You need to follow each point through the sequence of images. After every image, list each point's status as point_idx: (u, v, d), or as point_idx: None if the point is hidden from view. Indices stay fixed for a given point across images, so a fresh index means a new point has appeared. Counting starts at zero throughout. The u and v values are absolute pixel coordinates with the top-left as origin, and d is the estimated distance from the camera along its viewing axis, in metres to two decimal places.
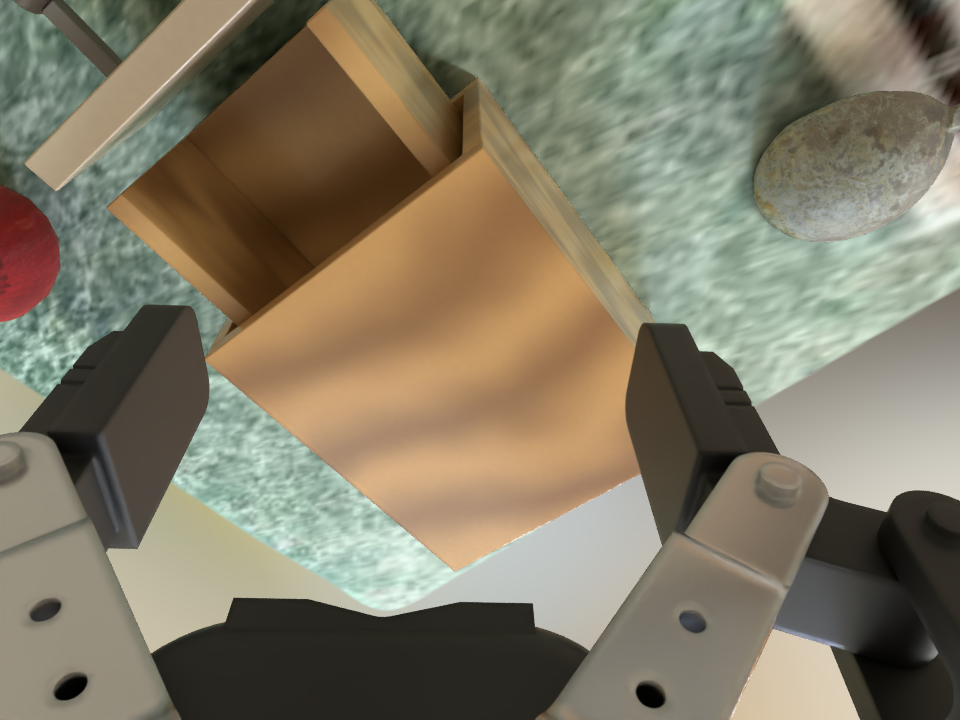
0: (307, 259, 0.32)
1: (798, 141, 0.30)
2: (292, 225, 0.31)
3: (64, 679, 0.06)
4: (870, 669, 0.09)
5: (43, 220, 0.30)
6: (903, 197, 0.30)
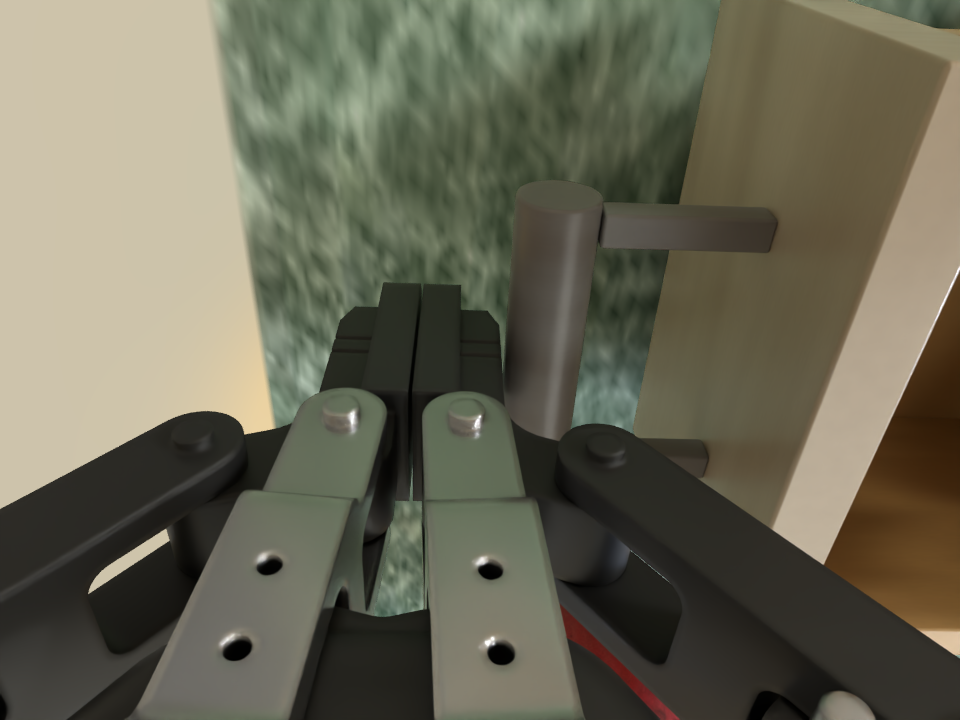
0: None
1: None
2: (953, 398, 0.18)
3: (240, 637, 0.06)
4: (594, 599, 0.10)
5: None
6: None
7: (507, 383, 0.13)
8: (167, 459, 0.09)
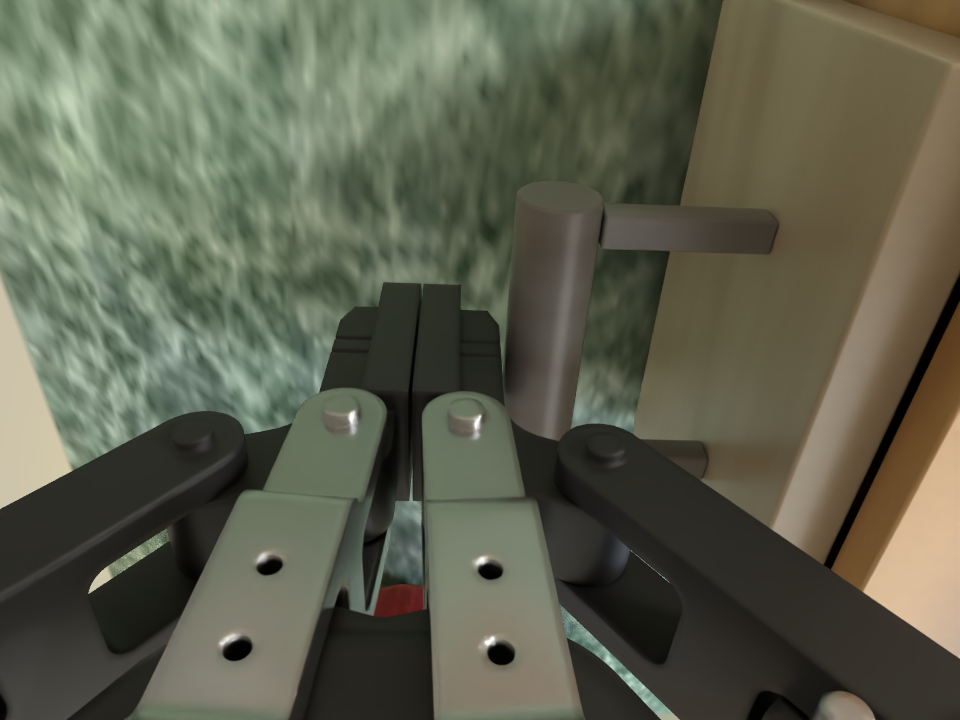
0: None
1: None
2: None
3: (240, 637, 0.06)
4: (594, 600, 0.10)
5: None
6: None
7: (507, 383, 0.13)
8: (167, 459, 0.09)
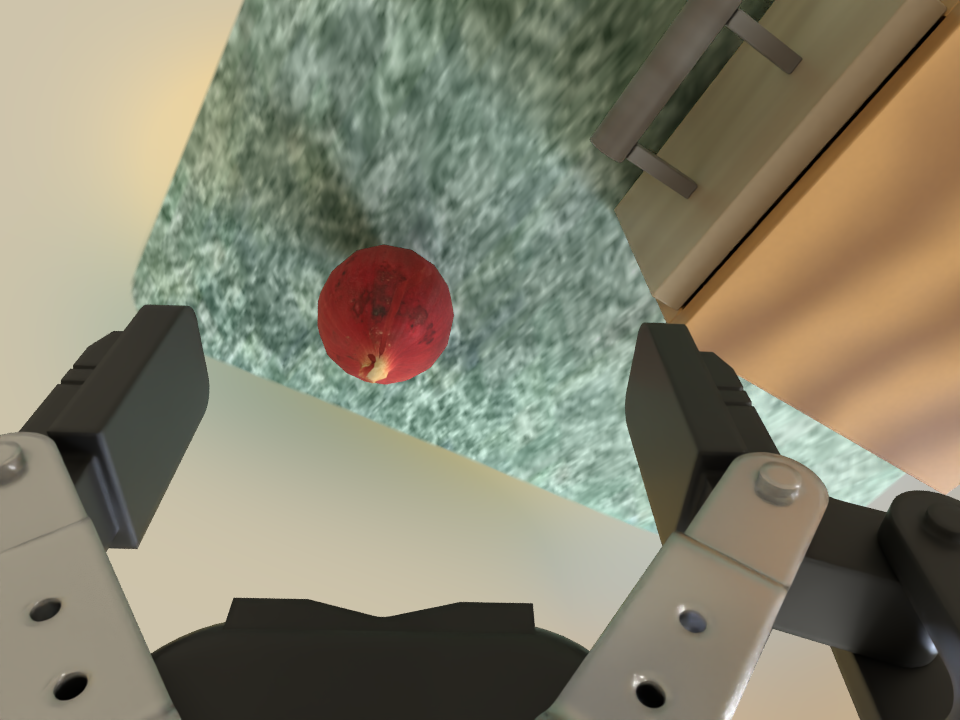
0: None
1: None
2: None
3: (63, 679, 0.06)
4: (870, 669, 0.09)
5: (432, 264, 0.30)
6: None
7: (638, 79, 0.23)
8: None
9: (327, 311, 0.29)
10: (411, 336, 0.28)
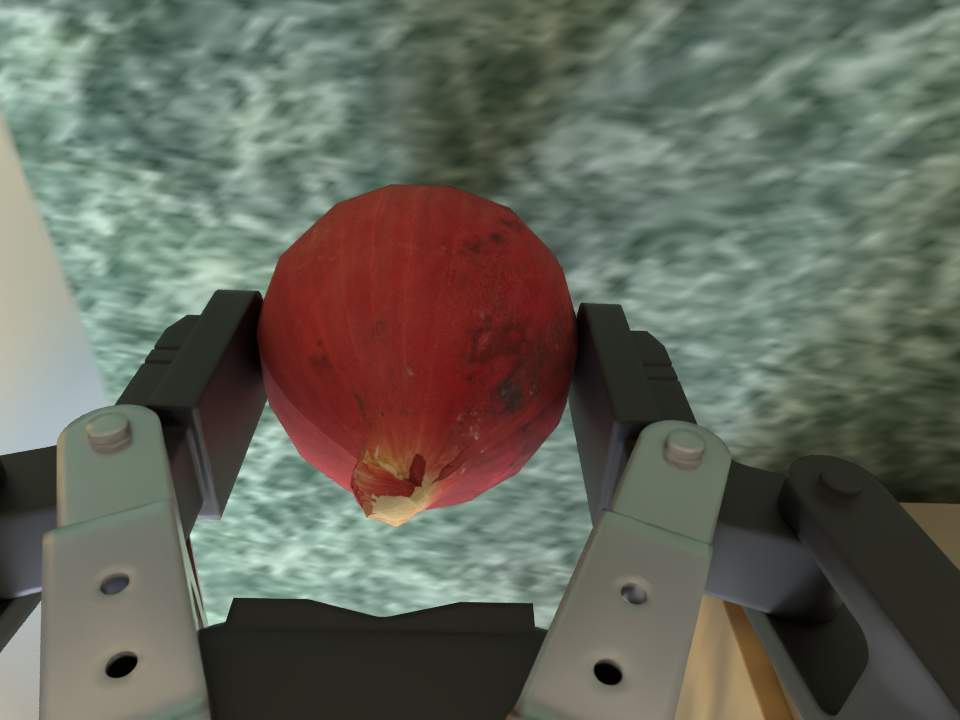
0: None
1: None
2: None
3: (117, 656, 0.06)
4: (785, 631, 0.09)
5: None
6: None
7: None
8: None
9: (406, 268, 0.11)
10: (489, 479, 0.11)
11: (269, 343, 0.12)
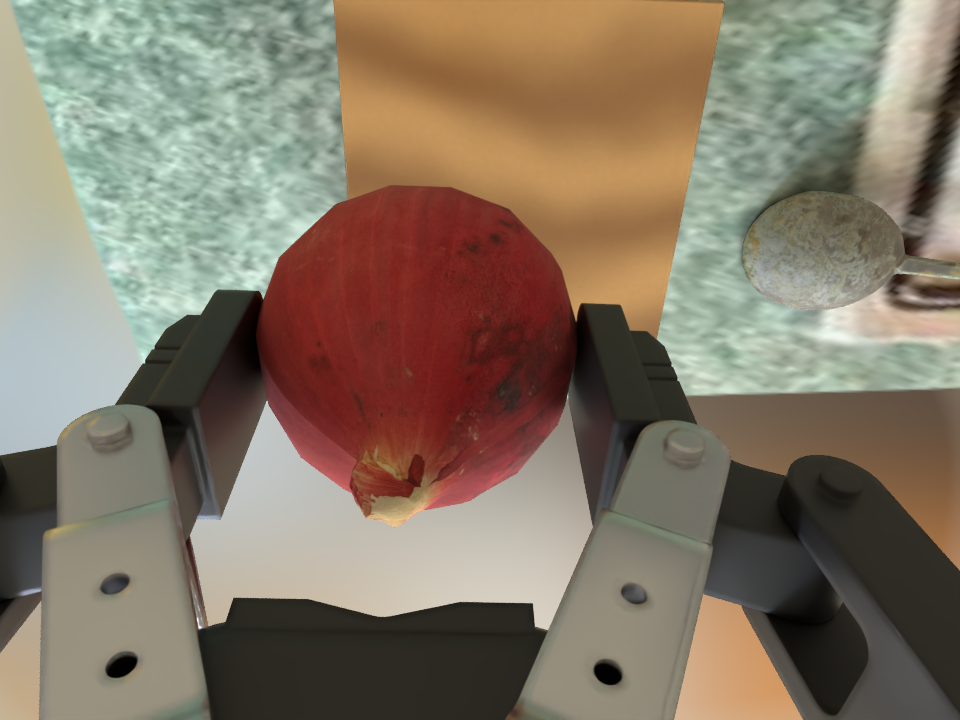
0: None
1: (813, 206, 0.36)
2: None
3: (118, 656, 0.06)
4: (785, 631, 0.09)
5: None
6: (841, 295, 0.37)
7: None
8: None
9: (405, 269, 0.11)
10: (488, 480, 0.12)
11: (268, 344, 0.12)
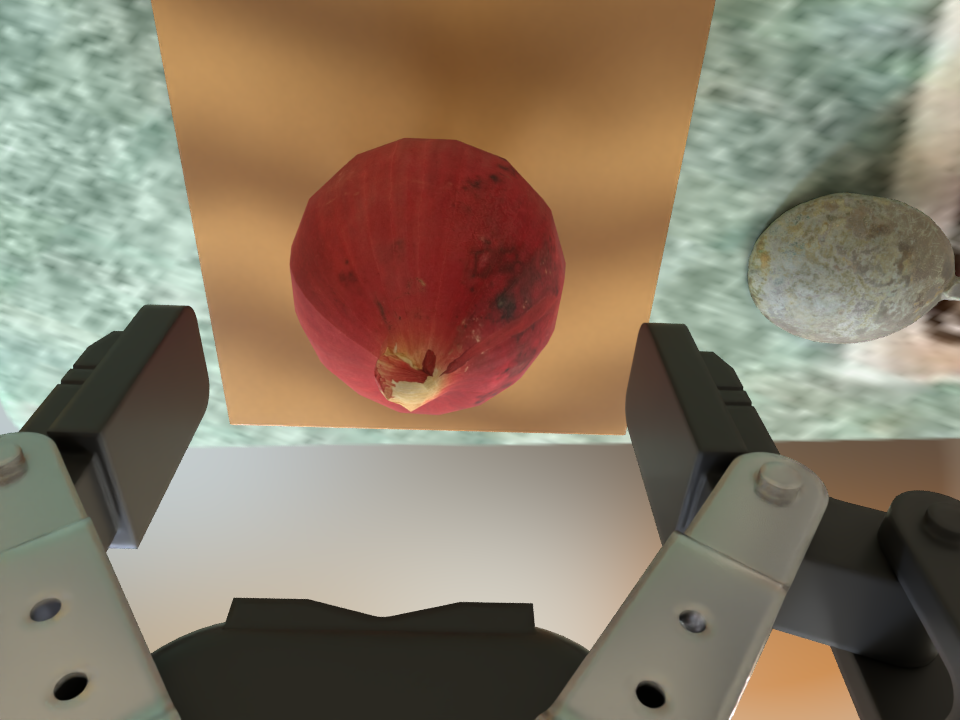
0: None
1: (840, 213, 0.28)
2: None
3: (64, 679, 0.06)
4: (870, 669, 0.09)
5: None
6: (874, 327, 0.29)
7: None
8: None
9: (419, 199, 0.13)
10: (488, 383, 0.14)
11: (302, 268, 0.14)
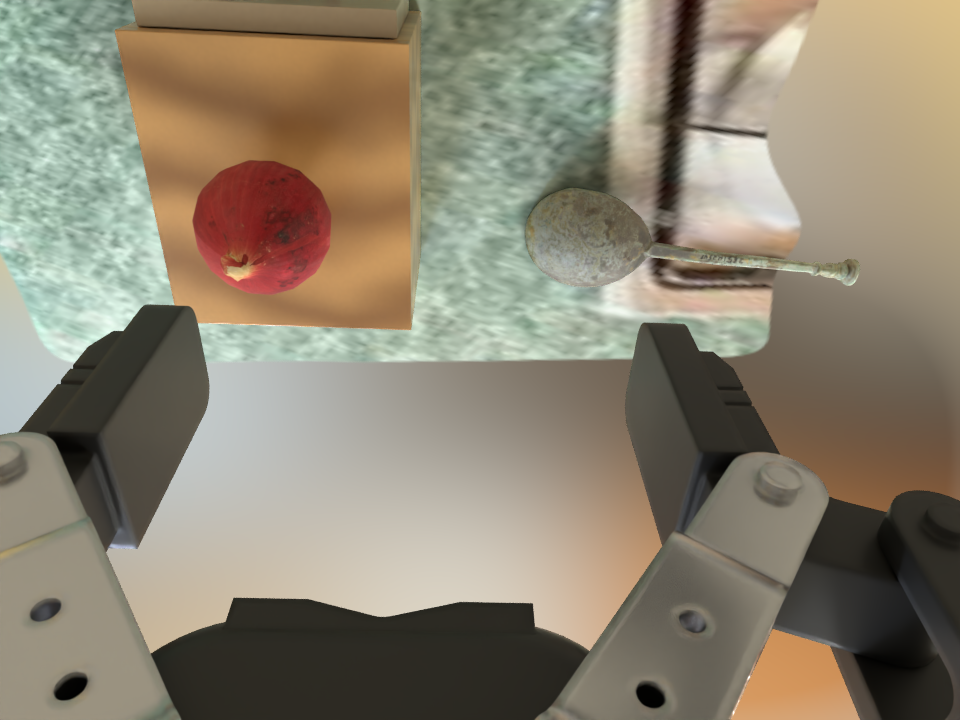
0: None
1: (570, 200, 0.44)
2: None
3: (64, 679, 0.06)
4: (870, 669, 0.09)
5: (330, 236, 0.33)
6: (601, 274, 0.45)
7: None
8: None
9: (243, 189, 0.29)
10: (280, 273, 0.30)
11: (195, 221, 0.30)
